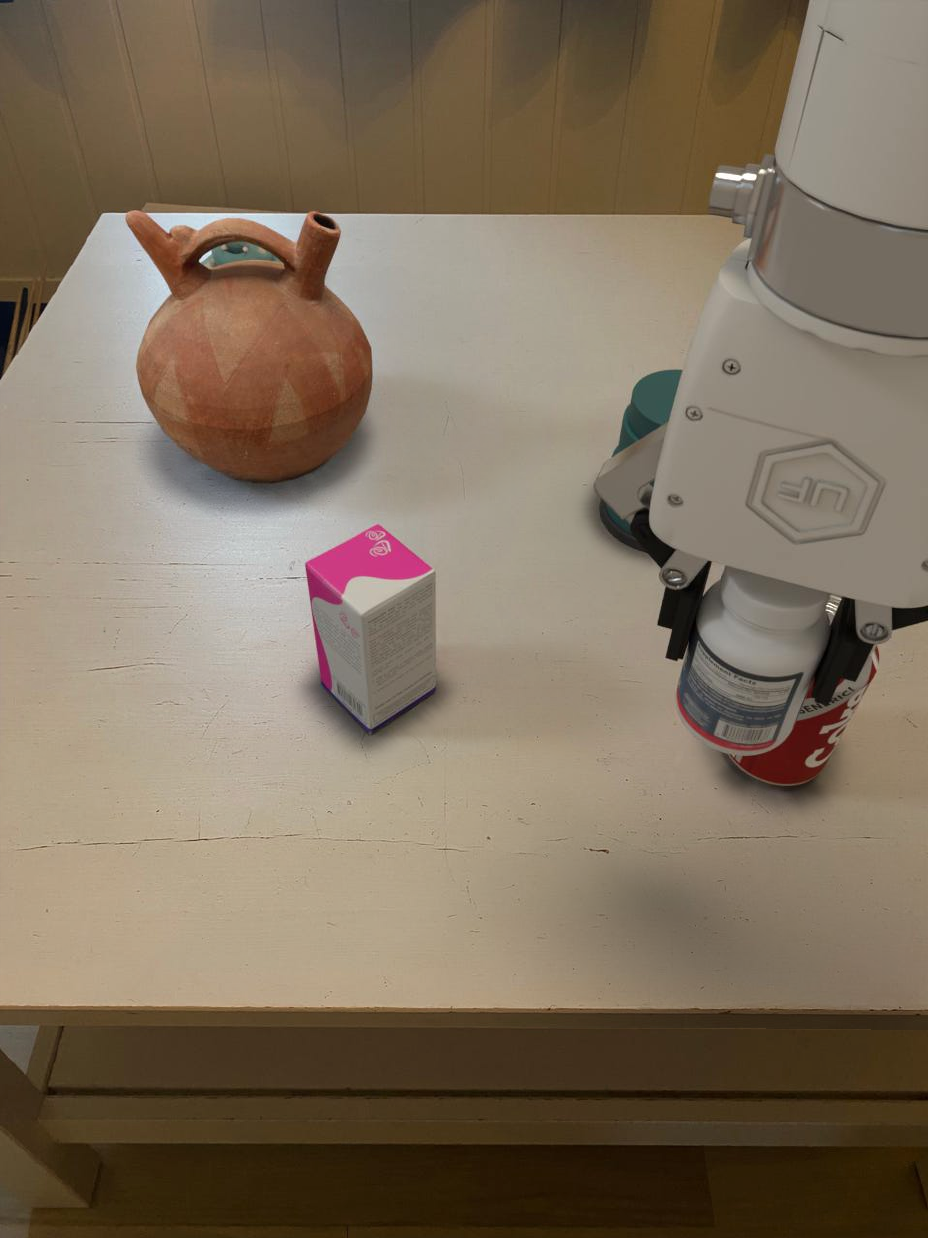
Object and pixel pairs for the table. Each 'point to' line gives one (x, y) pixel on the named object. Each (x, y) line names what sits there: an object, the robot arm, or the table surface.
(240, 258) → the stuffed animal
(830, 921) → the table surface
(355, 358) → the jug
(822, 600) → the pill bottle
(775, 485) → the robot arm
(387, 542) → the supplement box
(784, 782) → the soda can
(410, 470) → the table surface
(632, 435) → the cup stack
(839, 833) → the table surface
